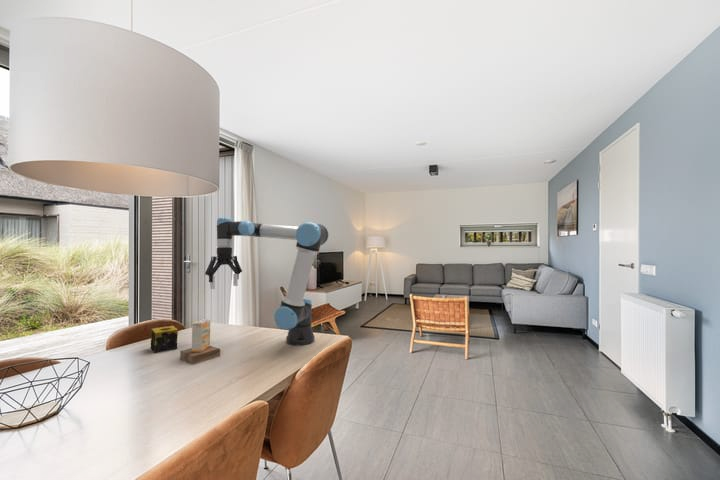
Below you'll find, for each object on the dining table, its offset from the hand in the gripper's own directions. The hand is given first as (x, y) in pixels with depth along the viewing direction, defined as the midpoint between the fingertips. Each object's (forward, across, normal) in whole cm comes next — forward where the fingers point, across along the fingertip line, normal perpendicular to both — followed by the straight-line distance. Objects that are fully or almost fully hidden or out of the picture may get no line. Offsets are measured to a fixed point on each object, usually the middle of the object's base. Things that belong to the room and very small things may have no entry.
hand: (224, 287), depth 164 cm
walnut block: (+30, +18, +9) cm, 36 cm away
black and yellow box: (+30, +21, -19) cm, 41 cm away
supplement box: (+26, +18, +8) cm, 33 cm away
